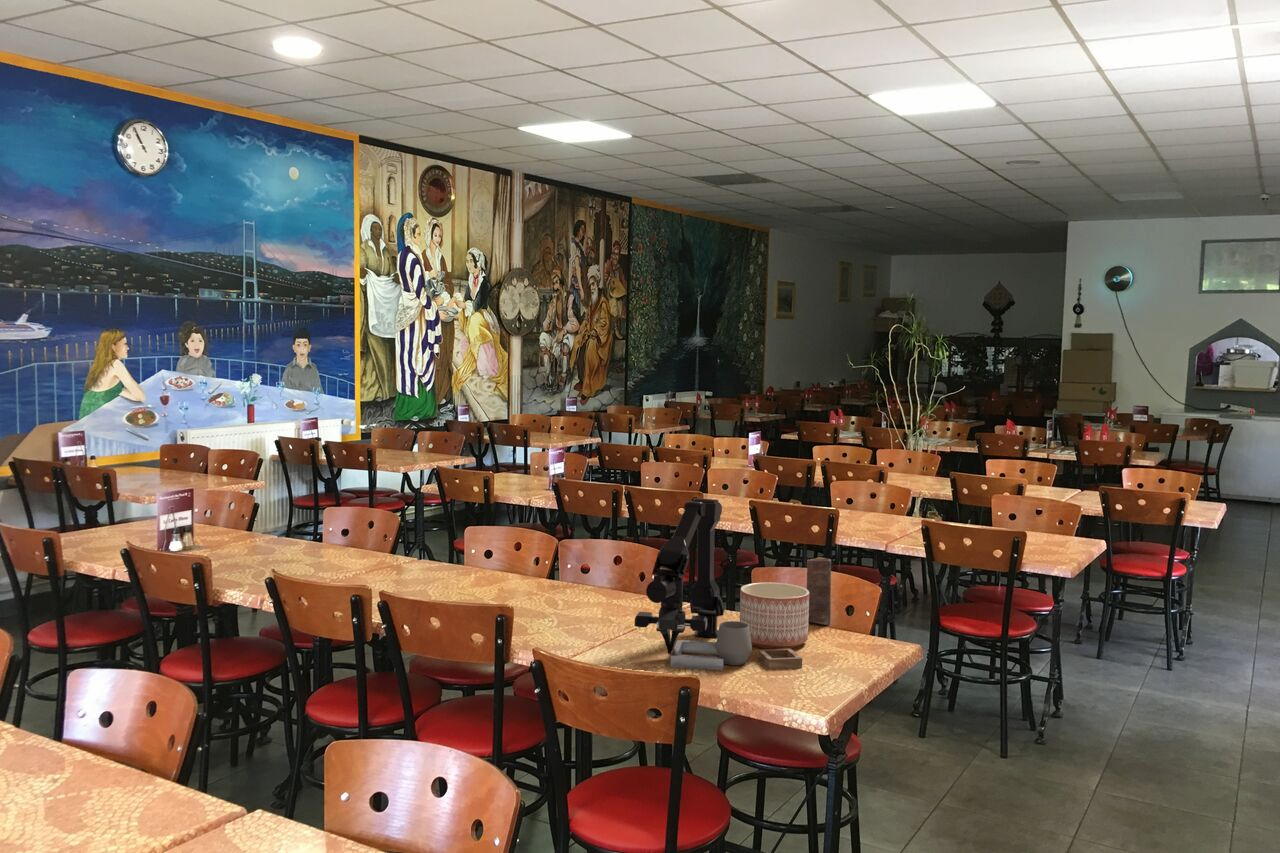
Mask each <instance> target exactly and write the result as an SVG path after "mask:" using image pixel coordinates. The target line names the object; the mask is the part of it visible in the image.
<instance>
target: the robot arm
mask: <svg viewBox="0 0 1280 853" xmlns="http://www.w3.org/2000/svg"><path fill="white" fill-rule="evenodd" d="M683 510H684V511H683V512H682V515H681V517H680V519H679V522H678V524H677V525H676V526H677V527H676V528H675V531H674V533H673V535H672V537H671V538H670V539H668V540H667V541H665V542H664V544H663V545H662V546H661V548H660V550H659V551H658V553H657V555H656V559H655V563H654V566H653V568H652V573H651V574H652V575H653V580H652V581H650V582H649V583H648V584H647V586H646V590H645V593H646V597H647V598H648V599H649V601H650V602H652V603H655V604H660V607H659V610H658V616H653V612H649V611H638V613H637V614H636V615H635V616H634V627H636V628H648V626H650V624H655V625H656V628H655V630H656V632H659V633H660V634H661V635H662V638H663V640H664V643H665V646H666V650H667V653H668V655H671V654H672V652H673V649H674V647H675V645H676V642H677V640H678V639H677V638H678V637H679V635H680V634H683V633H684V631H685V630H686V627H689V628H690V629H691V630H692V631H693V632H695V633H694V636H695V637H699V638H700V637H703V638H716V639H717V636H718V631H719V629H718V617H723V616H725V615H724V614H725V608H726V607H725V604H724V602H723V601H724V600H723V599H722V597H721V594H720V587H719V585H718V584H717V582H716V580H715V576H714V575H715V529H716V528H717V526H718V524H719V522H720V521H721V515H722V513H723V506H722V504H721V503H720V502H719V499H713V498H702V497H697V498H695V499H694V501H692V500H689V501H686V502H685V504H684V509H683ZM696 531H697V544H696V546H697V548H696V549H697V550H696V551H697V552H696V553H697V554H696V555H697V557H696V558H697V560H696V566H697V567H696V570H697V572H696V573H697V574H696V581H695V582H694V584H693V586H691V588H690V595H689V606H690V612H691V614H694V615H691V618H686V611H685V610H683V604H684V603H683V600H684V599H683V597H684V596H683V595H684V577H685V576H686V570H687V568H688V566H689V562H690V554H689V546H690V543H691V541H692V539H693V537H694V534H695V532H696ZM695 614H696V615H695Z"/></svg>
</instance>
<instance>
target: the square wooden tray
mask: <svg viewBox="0 0 1280 853" xmlns="http://www.w3.org/2000/svg"><path fill="white" fill-rule="evenodd" d="M757 660H759V662H760V663H762V664H763V665H764V666H765V667H766V668H767V669H768V670H776V669H777V670H778V669H781V670H782V669H797V668H798V669H799V668H803V658H802V656H800V655H799V654H797V653H796V652H795V651H794V650H793V648H789V649H766V648H763V649H758V650H757Z"/></svg>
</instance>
